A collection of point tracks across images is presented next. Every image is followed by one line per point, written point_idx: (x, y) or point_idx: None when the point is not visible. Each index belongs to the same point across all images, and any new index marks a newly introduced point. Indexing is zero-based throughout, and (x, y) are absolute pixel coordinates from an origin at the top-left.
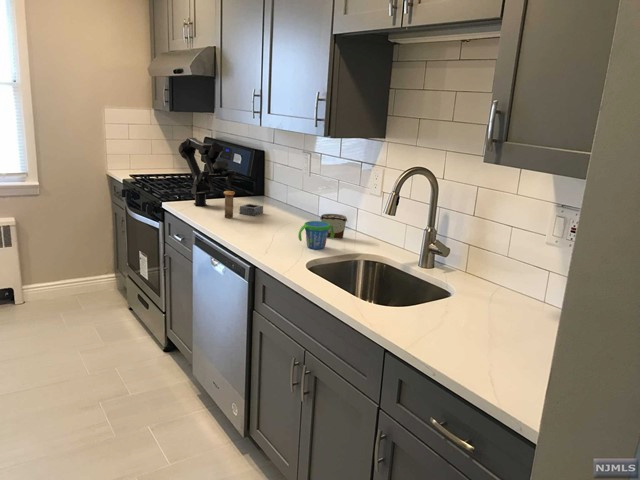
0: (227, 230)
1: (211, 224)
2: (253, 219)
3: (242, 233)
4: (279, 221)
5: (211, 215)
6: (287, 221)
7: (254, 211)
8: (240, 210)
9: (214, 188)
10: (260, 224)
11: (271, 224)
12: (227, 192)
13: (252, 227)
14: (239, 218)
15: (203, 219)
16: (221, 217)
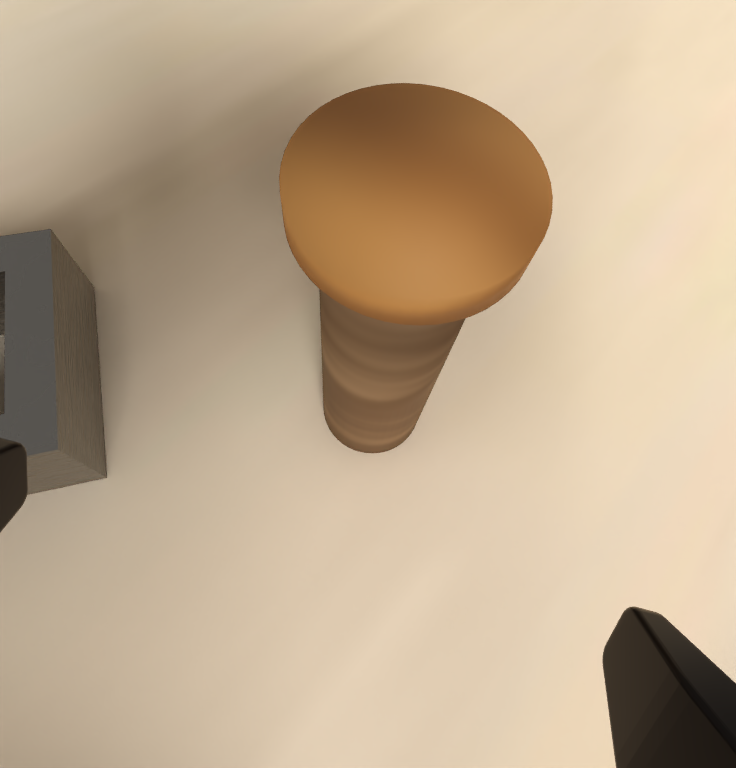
0: (677, 109)
1: (703, 300)
2: (226, 207)
3: (624, 16)
4: (111, 47)
5: (476, 632)
6: (60, 14)
7: (65, 254)
8: (86, 453)
9: (649, 622)
10: (328, 76)
11: (256, 33)
12: (508, 155)
13: (453, 61)
14: (305, 311)
15: (680, 511)
16: (438, 463)
